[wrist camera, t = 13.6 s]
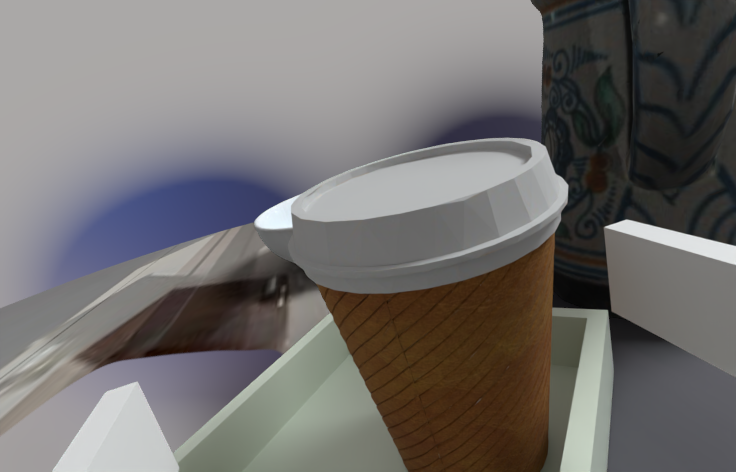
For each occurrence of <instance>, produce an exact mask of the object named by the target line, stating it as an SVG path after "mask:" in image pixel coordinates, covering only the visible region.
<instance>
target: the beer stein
mask: <svg viewBox="0 0 736 472" xmlns="http://www.w3.org/2000/svg"><path fill="white" fill-rule="evenodd" d="M531 2H532V4H533V5H534V6H535V7H536V8H537V9H538V10H539V11H540V13H541V15H542V20H543V36H544V43H543V61H542V65H543V66H542V106H541V107H542V136H541V137H542V138H541V144H542V145H544V146H545V147H546V149H547V152H548V155H549V157H550V160H551V163H552V166H553V168H554V171H555V174H557V175H558V176H560V177H562V178H563V179H564V181H565V182H566V183H567V184H568V202H567V205H566V206H565V207H564V209H563V210H562V211H561V221H560V223H559V225H558V227H557V229H556V231H555V249H554V267H553V291H554V292H555V293H556V294H558V295H559V296H560V297H561V298H562V299H563V300H565V301H567V302H570V303H572V304H575V305H577V306H580V307H583V308H585V309H595V310H608V315H609V317H615V318H623V317H621V316H620V315H618V314H616V313H614V312H612V309H611V299H610V288H609V277H608V267H607V256H606V245H605V235H604V227H606V226H609V225H612V224H615V223H618V222H621V221H624V220H631V221H635V222H639V223H643V224H647V225H651V226H655V227H660V228H664V229H668V230H672V231H676V232H680V233H684V234H688V235H692V236H696V237H700V238H704V239H708V240H712V241H716V242H721V243H725V244H729V245H733V246H736V0H531ZM623 319H625V318H623Z"/></svg>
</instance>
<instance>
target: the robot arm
mask: <svg viewBox="0 0 736 472" xmlns="http://www.w3.org/2000/svg"><path fill="white" fill-rule="evenodd" d="M604 235H605V245H606V256H607V267H608V277H609V288H610V299H611V309H612V312H614V313H616V314H618V315H620V316H621V317H623V318H625V319H627V320H629V321H631V322H633V323H635V324H636V325H638V326H640V327H642V328H644V329H646V330H648V331H650V332H651V333H653V334H655V335H657V336H659V337H661V338H663V339H665V340H666V341H668V342H670V343H672V344H674V345H676V346H678V347H680V348H681V349H683V350H685V351H687V352H689V353H691V354H693V355H694V356H696V357H698V358H700V359H702V360H704V361H706V362H708V363H709V364H711V365H713V366H715V367H717V368H719V369H721V370H723V371H724V372H726V373H728V374H730V375H732V376H734V377H736V246H733V245H729V244H725V243H721V242H716V241H712V240H708V239H704V238H700V237H696V236H692V235H688V234H684V233H680V232H676V231H672V230H668V229H664V228H660V227H655V226H651V225H647V224H643V223H639V222H635V221H631V220H624V221H621V222H618V223H615V224H612V225H609V226H606V227H604ZM178 471H179V466H178V464H177V462H176V459H175V457H174V455H173V453H172V451H171V449H170V447H169V445H168V443H167V441H166V439H165V437H164V435H163V433H162V431H161V429H160V427H159V425H158V422H157V421H156V419H155V416H154V414H153V412H152V410H151V408H150V406H149V405H148V402H147V400H146V398H145V396H144V394H143V392H142V390H141V388H140V385H139V384H138V382H135V383H132V384H128V385H126V386H122V387H119V388H116V389H113V390H110V391H108V392H105V394H104V395H103V397H102V398H101V400H100V401H99V402H98V404H97V405H96V407H95V408H94V410H93V411H92V413H91V415H90V416H89V417H88V419H87V420H86V422H85V423H84V425H83V426H82V428H81V429H80V431H79V432H78V434H77V435H76V437H75V438H74V439H73V441H72V443H71V444H70V445H69V447H68V448H67V450H66V451H65V453H64V454H63V456H62V457H61V459H60V460H59V462H58V463H57V465H56V466H55V468H54V469H53V471H52V472H178Z"/></svg>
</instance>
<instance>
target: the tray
mask: <svg viewBox="0 0 736 472" xmlns="http://www.w3.org/2000/svg"><path fill="white" fill-rule="evenodd" d="M551 336H552V337H551V368H550V396H549V430H548V440H549V443H548V455H547V458H546V460H545V463H544V466H543V468H542V470H541V471H540V472H607V461H608V447H609V433H610V419H611V405H612V392H613V378H614V367H613V357H612V347H611V336H610V326H609V315H608V310H595V309H572V308H552V332H551ZM376 406H377V405H376V404H375V403H374V401H373V399H372V398H371V393H370V392H369V390H368V389H367V387H366V385H365V381H364V380H363V378H362V376H361V374H360V373H359V369H358V367H357V366H356V364H355V363H354V361H353V357H352V356H351V355H350V352H349V350H348V348H347V344H346V343H345V341H344V339H343V338H342V336H341V334H340V330H339V329H338V327H337V325H336V324H335V322H334V320H333V316H332V314H331V313H329V314H328V315H327V316H326V317H325V318H324V319H323V320H322V321H320V322H319V323H318V324H317V325H316V326H315V327H314V328H313V329H311V330H310V331H309V332H308V333H307V334H306V335H305V336H304V337H303V338H301V339H300V340H299V341H298V342H297V343H296V344H295V345H294V346H292V347H291V348H290V349H289V350H288V351H287V352H286V353H285V354H283V355H282V356H281V357H280V358H279V359H278V360H277V361H276V362H274V364H272V365H271V366H270V367H269V368H268V369H267V370H266V371H264V372H263V373H262V374H261V375H260V376H259V377H258V378H257V379H256V380H254V381H253V382H252V383H251V384H250V385H249V386H248V387H247V388H245V389H244V390H243V391H242V392H241V393H240V394H239V395H238V396H236V397H235V398H234V399H233V400H232V401H231V402H230V403H229V404H227V405H226V406H225V407H224V408H223V409H222V410H221V411H220V412H219V413H217V414H216V415H215V416H214V417H213V418H212V419H211V420H209V421H208V422H207V423H206V424H205V425H204V426H203V427H202V428H201V429H199V430H198V431H197V432H196V433H195V434H194V435H193V436H192V437H190V438H189V439H188V440H187V441H186V442H185V443H184V444H183V445H181V446H180V447H179V448H178V449H177V450H176V451H175V452H174V453H173V455H174V457H175V459H176V462H177V464H178V466H179V471H178V472H408V470H407V468H406V467H405V465H404V463H403V460H402V458H401V456H400V454H399V452H398V449H397V447H396V445H395V444H394V442H393V440H392V439H393V438H392V437H391V435H390V433H389V432H388V430H387V428H388V427H386V425H385V423H384V421H383V420H382V417H383V416H381V415H380V413H379V411H378V409H377V407H376Z"/></svg>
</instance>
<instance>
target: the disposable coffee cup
mask: <svg viewBox="0 0 736 472" xmlns="http://www.w3.org/2000/svg"><path fill="white" fill-rule="evenodd" d="M567 202H568V184H567V183H566V182H565V181H564V179H563V178H562V177H560V176H558V175H557V174H555V171H554V168H553V166H552V163H551V160H550V157H549V155H548V152H547V149H546V147H545V146H544V145H542V144H540V143H539V142H537V141H533V140H529V139H519V138H491V139H481V140H472V141H464V142H456V143H450V144H444V145H439V146H434V147H429V148H425V149H420V150H416V151H411V152H408V153H403V154H399V155H396V156H392V157H389V158H386V159H382V160H379V161H376V162H373V163H369V164H366V165H363V166H360V167H357V168H354V169H352V170H349V171H347V172H344V173H341V174H339V175H337V176H335V177H332V178H330V179H327V180H325V181H324V182H322V183H320V184H318V185H316V186H314V187H312V188H311V189H309V190H307V191H306V192H304V193H302V194H301V195H300V196H299V197H298V198H297V199H296V200H295V201H294V202H293V204H292V205H291V216H292V226H293V235H292V237H291V238H290V241H289V244H288V249H289V252H290V256H291V258H292V260H293V262H295V263H296V264H297V265H298V266H299V267H300V268H302V269H303V270H304V272H305V274H306V276H307V277H309V278H310V279H311V280H312V281H314V282H315V283H316V285H317V286H318V288H319V290H320V293H321V295H322V297H323V299H324V301H325V302H326V306H327V308H328V309H329V311H330V313H331V314H332V316H333V320H334V322H335V324H336V325H337V327H338V329H339V330H340V334H341V336H342V338H343V339H344V341H345V343H346V344H347V348H348V350H349V352H350V355H351V356H352V357H353V361H354V363H355V364H356V366H357V367H358V369H359V373H360V374H361V376H362V378H363V380H364V381H365V385H366V387H367V389H368V390H369V392H370V393H371V398H372V399H373V401H374V403H375V404H376V405H377V406H376V407H377V409H378V411H379V413H380V415H381V416H383V417H382V420H383V421H384V423H385V425H386V427H388V428H387V430H388V432H389V433H390V435H391V437H392V438H393V439H392V440H393V442H394V444H395V445H396V447H397V449H398V452H399V454H400V456H401V458H402V460H403V463H404V465H405V467H406V468H407V470H408V472H540V471H541V470H542V468H543V466H544V463H545V460H546V458H547V455H548V443H549V440H548V430H549V396H550V368H551V337H552V336H551V332H552V300H553V267H554V249H555V231H556V229H557V227H558V225H559V223H560V221H561V211H562V210H563V209H564V207H565V206H566V205H567Z"/></svg>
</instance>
